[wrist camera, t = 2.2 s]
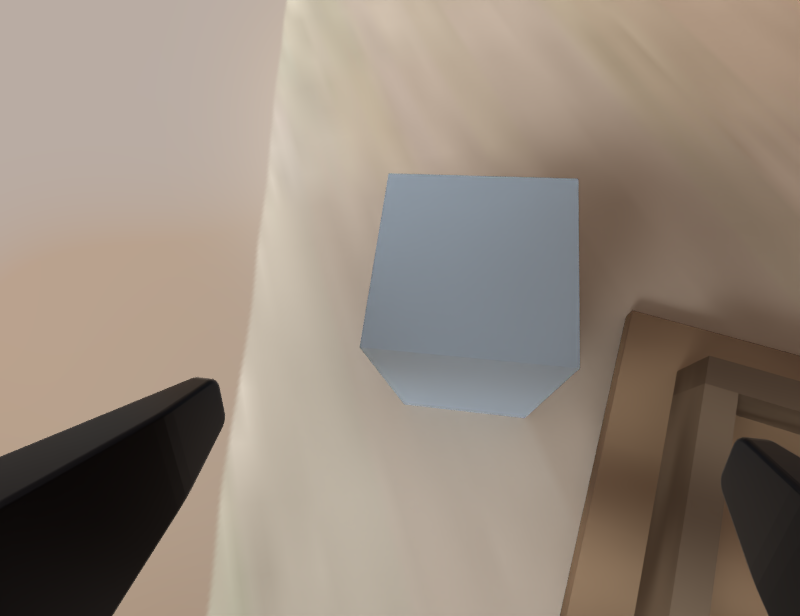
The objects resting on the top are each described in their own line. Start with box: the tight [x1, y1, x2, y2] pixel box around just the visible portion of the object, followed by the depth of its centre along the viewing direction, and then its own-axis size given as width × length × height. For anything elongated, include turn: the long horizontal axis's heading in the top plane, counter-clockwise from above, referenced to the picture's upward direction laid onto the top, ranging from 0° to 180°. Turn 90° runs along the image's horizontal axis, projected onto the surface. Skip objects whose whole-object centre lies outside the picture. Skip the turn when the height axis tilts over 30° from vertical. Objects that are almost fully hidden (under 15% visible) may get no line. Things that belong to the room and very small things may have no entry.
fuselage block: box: [360, 174, 580, 418], centre depth 15 cm, size 5×5×9 cm
